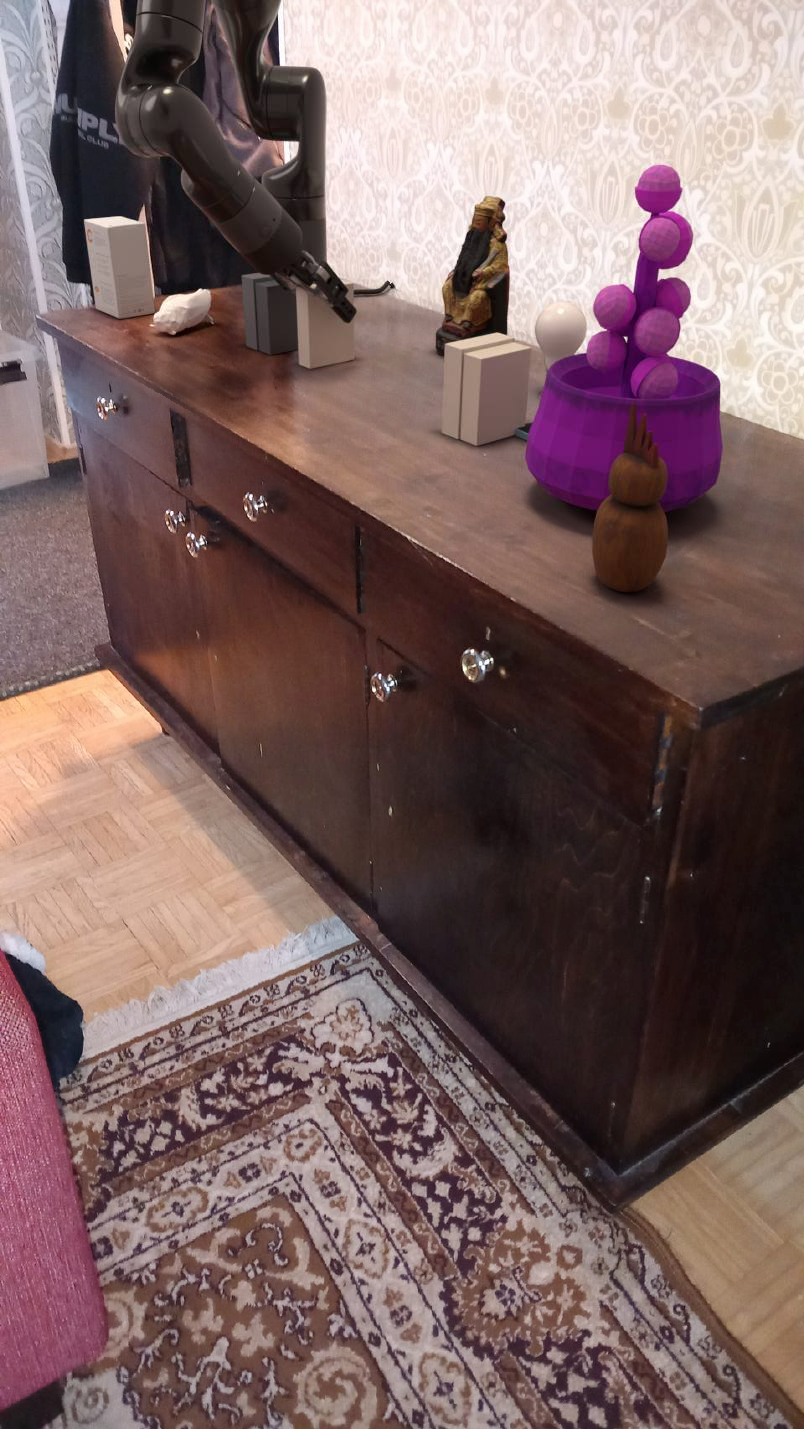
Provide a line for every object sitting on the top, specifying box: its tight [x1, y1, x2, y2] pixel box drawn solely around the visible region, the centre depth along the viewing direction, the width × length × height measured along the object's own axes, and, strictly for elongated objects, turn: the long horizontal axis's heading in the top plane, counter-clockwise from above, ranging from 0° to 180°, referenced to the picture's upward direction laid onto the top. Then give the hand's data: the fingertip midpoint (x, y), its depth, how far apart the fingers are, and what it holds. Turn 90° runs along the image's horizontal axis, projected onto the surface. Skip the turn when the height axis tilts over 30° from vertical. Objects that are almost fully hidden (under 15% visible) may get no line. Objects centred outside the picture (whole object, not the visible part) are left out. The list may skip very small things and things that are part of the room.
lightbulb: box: [534, 300, 588, 377], centre depth 133 cm, size 6×6×11 cm
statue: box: [435, 195, 511, 356], centre depth 143 cm, size 12×8×20 cm, turn 29°
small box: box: [83, 215, 156, 320], centre depth 163 cm, size 8×6×13 cm
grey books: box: [241, 272, 314, 356], centre depth 149 cm, size 6×9×10 cm, turn 130°
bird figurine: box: [149, 288, 215, 336], centre depth 157 cm, size 5×7×10 cm
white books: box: [441, 333, 532, 447], centre depth 120 cm, size 6×8×10 cm
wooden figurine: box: [591, 402, 669, 593], centre depth 87 cm, size 7×6×15 cm
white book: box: [296, 278, 355, 370], centre depth 143 cm, size 3×8×10 cm, turn 130°
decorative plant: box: [524, 164, 724, 513], centre depth 98 cm, size 19×18×30 cm
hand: (335, 311), depth 143 cm, fingers open, 6 cm apart
